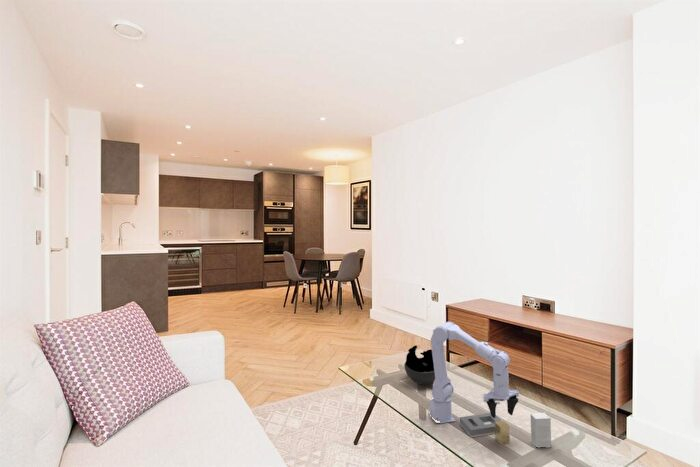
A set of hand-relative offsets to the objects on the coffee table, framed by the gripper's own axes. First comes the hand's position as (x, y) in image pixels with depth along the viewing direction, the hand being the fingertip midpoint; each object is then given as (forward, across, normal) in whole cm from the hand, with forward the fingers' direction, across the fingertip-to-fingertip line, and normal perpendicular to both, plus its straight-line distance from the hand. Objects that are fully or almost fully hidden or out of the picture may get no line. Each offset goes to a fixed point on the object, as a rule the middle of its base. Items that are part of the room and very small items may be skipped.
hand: (501, 415), depth 150 cm
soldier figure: (+11, +16, +29) cm, 35 cm away
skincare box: (+11, +13, -6) cm, 18 cm away
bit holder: (+10, -3, +10) cm, 15 cm away
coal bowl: (+10, -12, +56) cm, 58 cm away
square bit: (+10, 0, 0) cm, 11 cm away
